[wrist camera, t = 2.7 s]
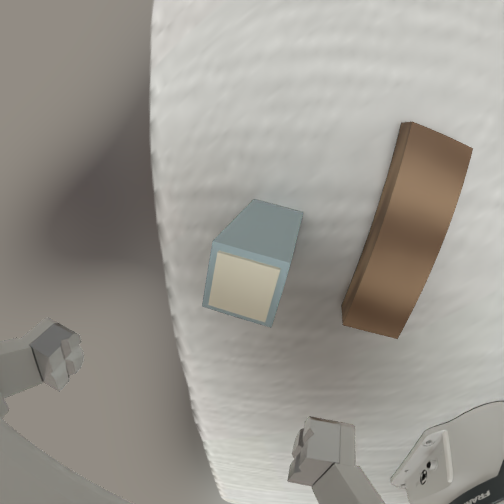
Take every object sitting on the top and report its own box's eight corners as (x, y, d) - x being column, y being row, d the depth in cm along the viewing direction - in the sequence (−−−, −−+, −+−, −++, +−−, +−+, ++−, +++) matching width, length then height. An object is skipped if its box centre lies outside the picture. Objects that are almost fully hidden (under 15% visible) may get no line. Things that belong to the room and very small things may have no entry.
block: (290, 257, 26) (270, 330, 17) (244, 244, 26) (200, 308, 17) (303, 212, 24) (290, 265, 15) (254, 198, 25) (211, 242, 15)
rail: (391, 319, 26) (397, 338, 23) (341, 305, 26) (342, 325, 24) (456, 145, 19) (472, 148, 17) (401, 122, 20) (412, 121, 17)
